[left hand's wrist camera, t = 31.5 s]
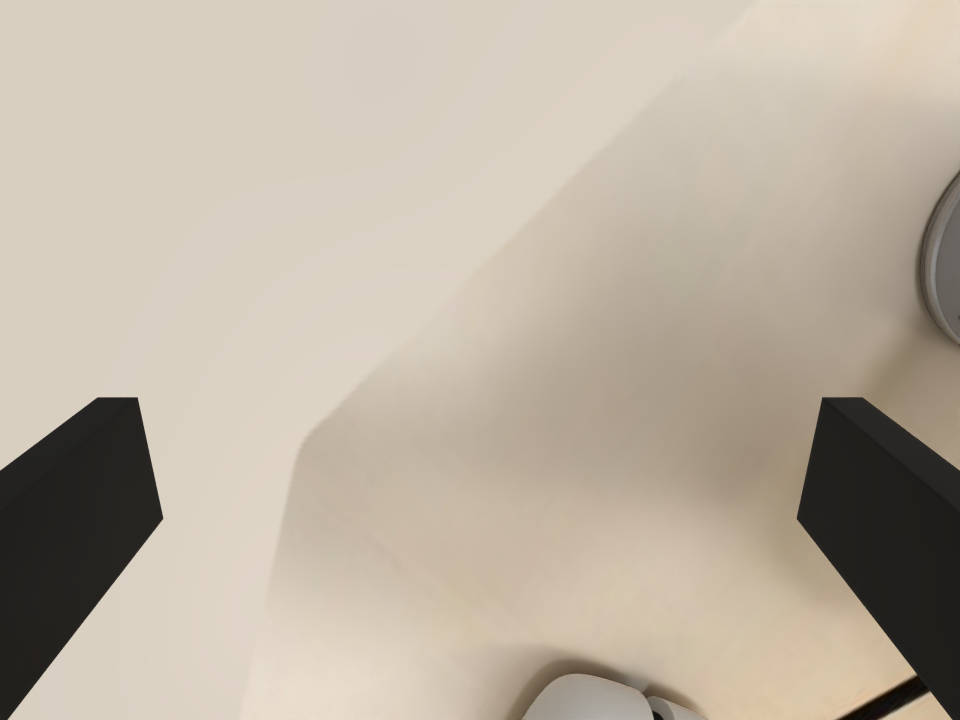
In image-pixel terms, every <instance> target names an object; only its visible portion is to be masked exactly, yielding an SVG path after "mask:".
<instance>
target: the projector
mask: <svg viewBox="0 0 960 720" xmlns="http://www.w3.org/2000/svg"><path fill="white" fill-rule="evenodd" d="M522 720H708V719H706V718H704V717H703V716H701V715H699V714H697V713H695V712H693V711H691V710H689V709H687V708H685V707H682V706H680V705H677V704H675V703H672V702H670V701H667V700H664V699H662V698H659V697H656V696H651V697H648V698H647V699H646V698H645V697H644V695H643V694H642V693H641V692H639V691H638V690H636V689H634V688H632V687H629V686H626V685H623V684H620V683H617V682H614V681H611V680H608V679H604V678H601V677H596V676H592V675H586V674H568V675H564V676H561V677H559V678H557V679H555V680H554V681H552V682H551V683H550V684H549V685H548V686H547V687H546V688H545V689H544V690H543V691H542V692H541V693H540V694H539V696H538V697H537V698H536V699H535V701H534V702H533V703H532V705H531V706H530V708H529V709H528V710H527V712H526V714H525V715H524V717H523V718H522Z"/></svg>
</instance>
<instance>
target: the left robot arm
mask: <svg viewBox="0 0 960 720" xmlns="http://www.w3.org/2000/svg"><path fill="white" fill-rule="evenodd" d="M920 279H921V288H922V292H923V297H924V300H925V303H926V306H927V308H928V310H929V312H930V314H931V316H932V318H933V319H934V321H935V322H936V324H937V325H938V326H939V327H940V329H941V330H942V331H943V332H944V333H945V334H946V335H947V336H948V337H950V338H951V339H952V340H953V341H955V342H956V343H958V344H959V345H960V174H959V175H958V177H957V178H956V179H955V180H954V182H953V183H952V184H951V186H950V187H949V189H948V190H947V191H946V193H945V195H944V196H943V198H942V200H941V201H940V203H939V205H938V207H937V209H936V211H935V213H934V215H933V217H932V219H931V222H930V224H929V227H928V229H927V233H926V236H925V239H924V243H923V248H922V253H921V262H920ZM162 520H163V515H162V510H161V505H160V501H159V496H158V491H157V487H156V482H155V477H154V472H153V468H152V463H151V458H150V454H149V449H148V444H147V439H146V435H145V430H144V426H143V421H142V416H141V411H140V407H139V402H138V398H137V397H103V398H102V397H98V398H96V399H95V400H94V401H92V402H91V403H90V404H88V405H87V406H86V407H84V408H83V409H82V410H80V411H79V412H78V413H76V414H75V415H74V416H72V417H71V418H70V419H68V420H67V421H66V422H64V423H63V424H62V425H60V426H59V427H58V428H56V429H55V430H54V431H52V432H51V433H50V434H48V435H47V436H46V437H44V438H43V439H42V440H40V441H39V442H38V443H37V444H35V445H34V446H33V447H31V448H30V449H28V450H27V451H26V452H24V453H23V454H22V455H21V456H19V457H18V458H16V459H15V460H14V461H13V462H11V463H10V464H9V465H7V466H6V467H5V468H3V469H2V470H1V471H0V720H8V718H9V717H10V716H11V715H12V713H13V712H14V711H15V709H16V708H17V707H18V706H19V704H20V703H21V702H22V700H23V699H24V698H25V696H26V695H27V694H28V693H29V691H30V690H31V689H32V687H33V686H34V685H35V684H36V682H37V681H38V680H39V678H40V677H41V676H42V675H43V673H44V672H45V671H46V669H47V668H48V667H49V665H50V664H51V663H52V662H53V660H54V659H55V658H56V657H57V655H58V654H59V653H60V651H61V650H62V649H63V647H64V646H65V645H66V644H67V642H68V641H69V640H70V638H71V637H72V636H73V635H74V633H75V632H76V631H77V629H78V628H79V627H80V626H81V624H82V623H83V622H84V620H85V619H86V618H87V616H88V615H89V614H90V613H91V611H92V610H93V609H94V607H95V606H96V605H97V604H98V602H99V601H100V600H101V598H102V597H103V596H104V595H105V593H106V592H107V591H108V589H109V588H110V587H111V585H112V584H113V583H114V582H115V580H116V579H117V578H118V576H119V575H120V574H121V573H122V571H123V570H124V569H125V567H126V566H127V565H128V564H129V562H130V561H131V560H132V558H133V557H134V556H135V555H136V553H137V552H138V551H139V549H140V548H141V547H142V545H143V544H144V543H145V542H146V540H147V539H148V538H149V536H150V535H151V534H152V533H153V531H154V530H155V529H156V527H157V526H158V525H159V524H160V522H161V521H162ZM797 520H798V521H799V522H800V524H801V525H802V526H803V527H804V529H805V530H806V531H807V533H808V534H809V535H810V536H811V538H812V539H813V540H814V542H815V543H816V544H817V546H818V547H819V548H820V549H821V551H822V552H823V553H824V555H825V556H826V557H827V558H828V560H829V561H830V562H831V564H832V565H833V566H834V567H835V569H836V570H837V571H838V573H839V574H840V575H841V576H842V578H843V579H844V580H845V582H846V583H847V584H848V586H849V587H850V588H851V589H852V591H853V592H854V593H855V595H856V596H857V597H858V598H859V600H860V601H861V602H862V604H863V605H864V606H865V607H866V609H867V610H868V611H869V613H870V614H871V615H872V617H873V618H874V619H875V620H876V622H877V623H878V624H879V626H880V627H881V628H882V629H883V631H884V632H885V633H886V635H887V636H888V637H889V638H890V640H891V641H892V642H893V644H894V645H895V646H896V647H897V649H898V650H899V651H900V653H901V654H902V655H903V657H904V658H905V659H906V660H907V662H908V663H909V664H910V666H911V667H912V668H913V669H914V671H915V672H916V673H917V675H918V676H919V677H920V678H921V680H922V681H923V682H924V684H925V685H926V686H927V687H928V689H929V690H930V691H931V693H932V694H933V695H934V697H935V698H936V699H937V700H938V702H939V703H940V704H941V706H942V707H943V708H944V709H945V711H946V712H947V713H948V715H949V716H950V717H951V718H952V720H960V471H959V470H958V469H957V468H955V467H954V466H953V465H951V464H950V463H949V462H948V461H946V460H945V459H944V458H942V457H941V456H940V455H938V454H937V453H936V452H934V451H933V450H932V449H930V448H929V447H928V446H926V445H925V444H924V443H922V442H921V441H920V440H918V439H917V438H916V437H914V436H913V435H912V434H910V433H909V432H908V431H906V430H905V429H904V428H902V427H901V426H900V425H898V424H897V423H896V422H894V421H893V420H892V419H890V418H889V417H888V416H886V415H885V414H884V413H882V412H881V411H880V410H878V409H877V408H876V407H874V406H873V405H872V404H870V403H869V402H868V401H866V400H865V399H864V398H862V397H822V402H821V406H820V411H819V416H818V421H817V425H816V430H815V435H814V439H813V444H812V449H811V454H810V458H809V463H808V468H807V472H806V477H805V482H804V486H803V491H802V496H801V501H800V505H799V510H798V515H797Z"/></svg>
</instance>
